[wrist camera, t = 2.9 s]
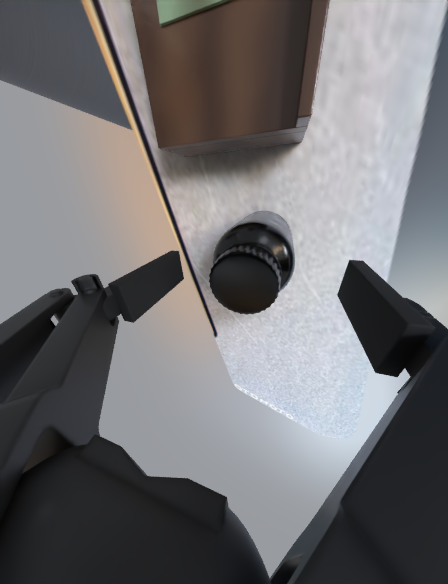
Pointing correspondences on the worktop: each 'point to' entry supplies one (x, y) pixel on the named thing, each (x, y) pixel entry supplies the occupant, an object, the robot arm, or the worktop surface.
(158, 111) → the wooden plaque with label
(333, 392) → the worktop surface
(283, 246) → the supplement bottle
